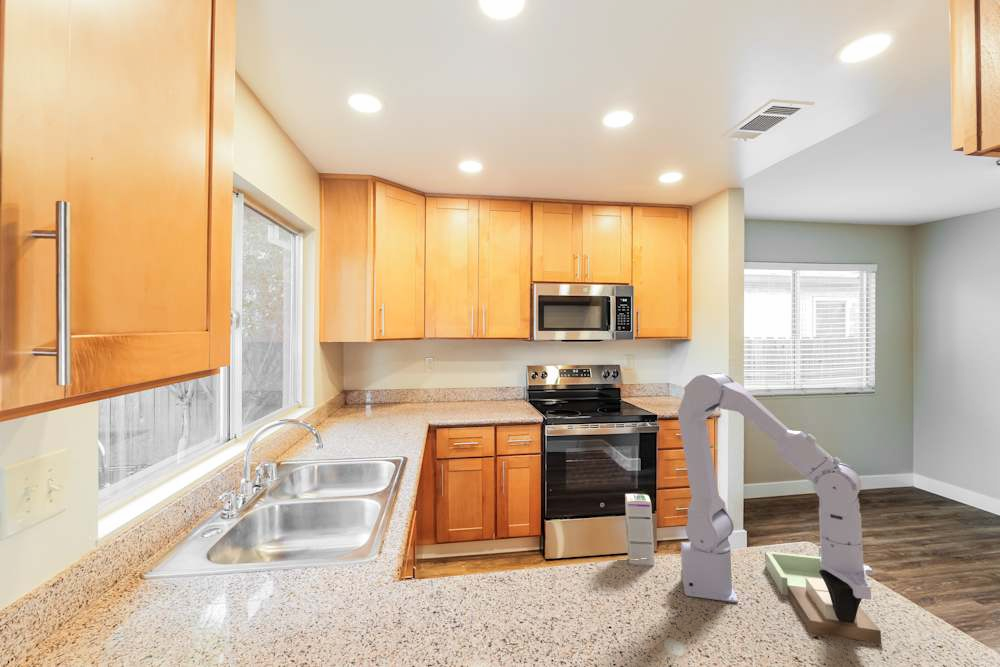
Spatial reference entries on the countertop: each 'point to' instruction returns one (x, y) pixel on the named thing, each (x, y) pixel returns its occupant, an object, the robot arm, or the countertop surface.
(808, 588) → the tile
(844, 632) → the board
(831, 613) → the tile
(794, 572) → the tray
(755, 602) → the countertop surface
